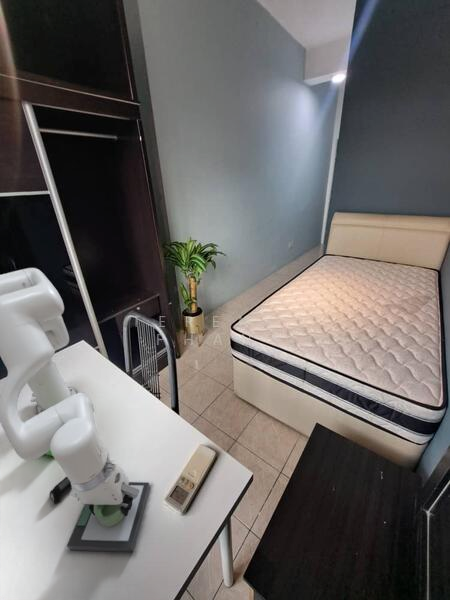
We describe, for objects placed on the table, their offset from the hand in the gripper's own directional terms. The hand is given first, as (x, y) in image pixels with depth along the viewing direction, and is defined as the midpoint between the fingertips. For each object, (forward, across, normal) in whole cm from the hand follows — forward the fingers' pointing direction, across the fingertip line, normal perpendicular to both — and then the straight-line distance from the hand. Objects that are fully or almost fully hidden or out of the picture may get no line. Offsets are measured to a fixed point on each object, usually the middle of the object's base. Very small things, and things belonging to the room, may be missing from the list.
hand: (113, 507), depth 60 cm
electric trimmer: (+5, +15, -9) cm, 18 cm away
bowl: (+1, 0, 0) cm, 1 cm away
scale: (+4, +1, 0) cm, 5 cm away
